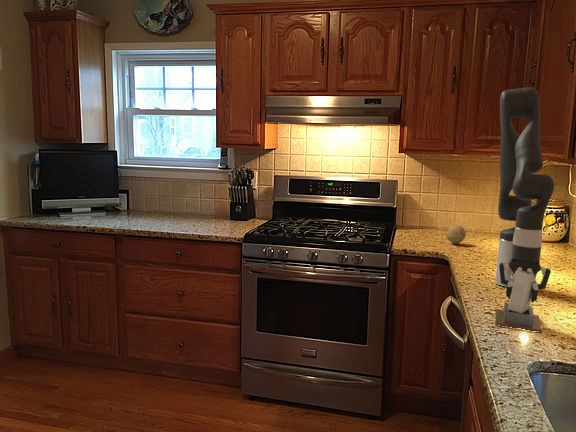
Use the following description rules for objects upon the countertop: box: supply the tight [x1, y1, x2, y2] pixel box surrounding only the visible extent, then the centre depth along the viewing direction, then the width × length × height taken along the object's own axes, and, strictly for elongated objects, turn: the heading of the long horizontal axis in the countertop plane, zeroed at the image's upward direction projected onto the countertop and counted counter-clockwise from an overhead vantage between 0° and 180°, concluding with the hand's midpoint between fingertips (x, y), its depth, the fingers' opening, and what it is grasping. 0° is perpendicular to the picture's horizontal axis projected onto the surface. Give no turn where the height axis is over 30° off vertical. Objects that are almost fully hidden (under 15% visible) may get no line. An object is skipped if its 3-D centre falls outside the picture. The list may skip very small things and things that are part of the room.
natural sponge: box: [446, 224, 466, 245], centre depth 260 cm, size 9×9×10 cm
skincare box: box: [508, 271, 538, 313], centre depth 150 cm, size 6×4×12 cm
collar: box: [494, 302, 543, 333], centre depth 152 cm, size 13×12×4 cm
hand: (520, 299), depth 151 cm, fingers closed on skincare box, 5 cm apart
